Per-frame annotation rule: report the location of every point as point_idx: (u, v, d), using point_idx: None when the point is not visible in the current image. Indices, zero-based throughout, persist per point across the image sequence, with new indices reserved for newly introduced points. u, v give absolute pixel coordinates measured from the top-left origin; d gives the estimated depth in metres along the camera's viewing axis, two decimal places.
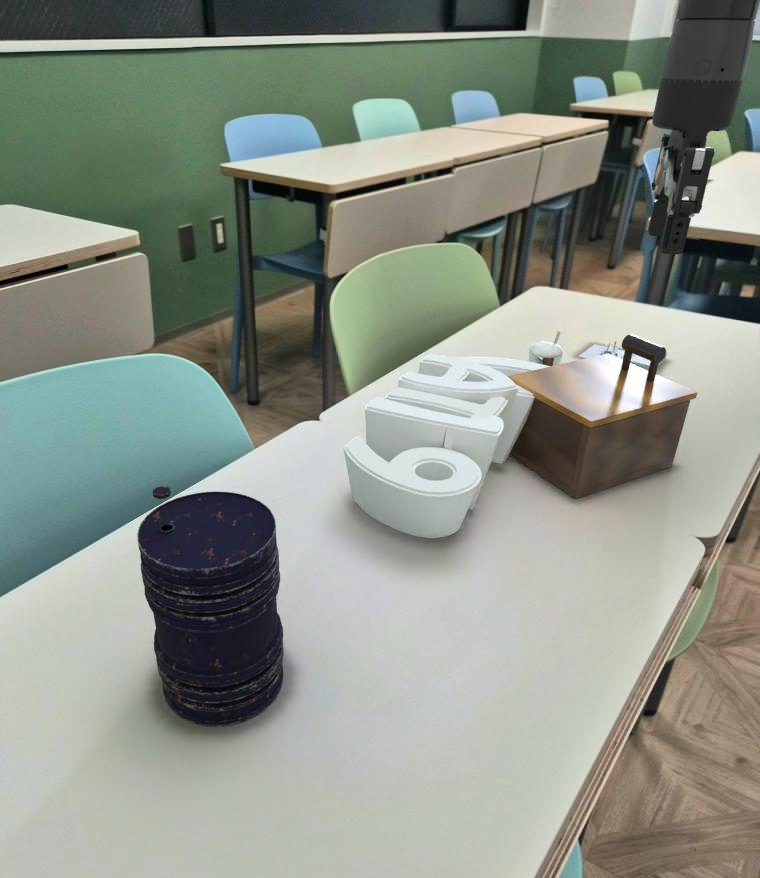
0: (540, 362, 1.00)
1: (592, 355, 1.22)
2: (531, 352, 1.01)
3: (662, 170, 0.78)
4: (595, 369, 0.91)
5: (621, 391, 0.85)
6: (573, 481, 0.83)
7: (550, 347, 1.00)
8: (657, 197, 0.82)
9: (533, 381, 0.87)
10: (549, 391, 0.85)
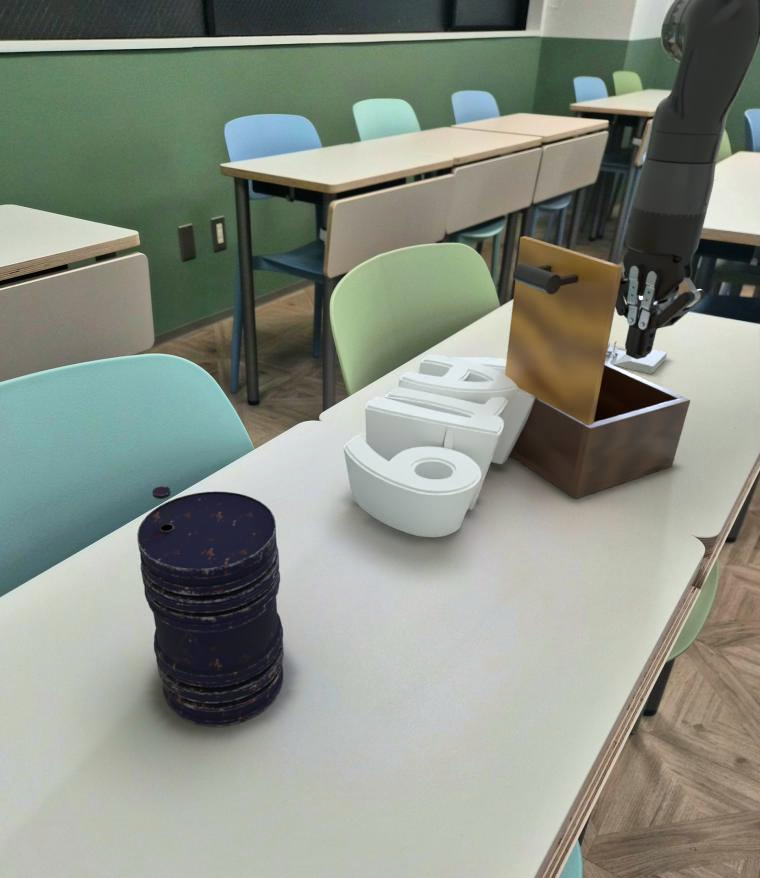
0: None
1: None
2: None
3: (639, 287, 0.83)
4: (534, 296, 0.80)
5: (572, 332, 0.77)
6: (573, 481, 0.83)
7: None
8: (635, 323, 0.86)
9: (520, 374, 0.86)
10: (538, 386, 0.84)
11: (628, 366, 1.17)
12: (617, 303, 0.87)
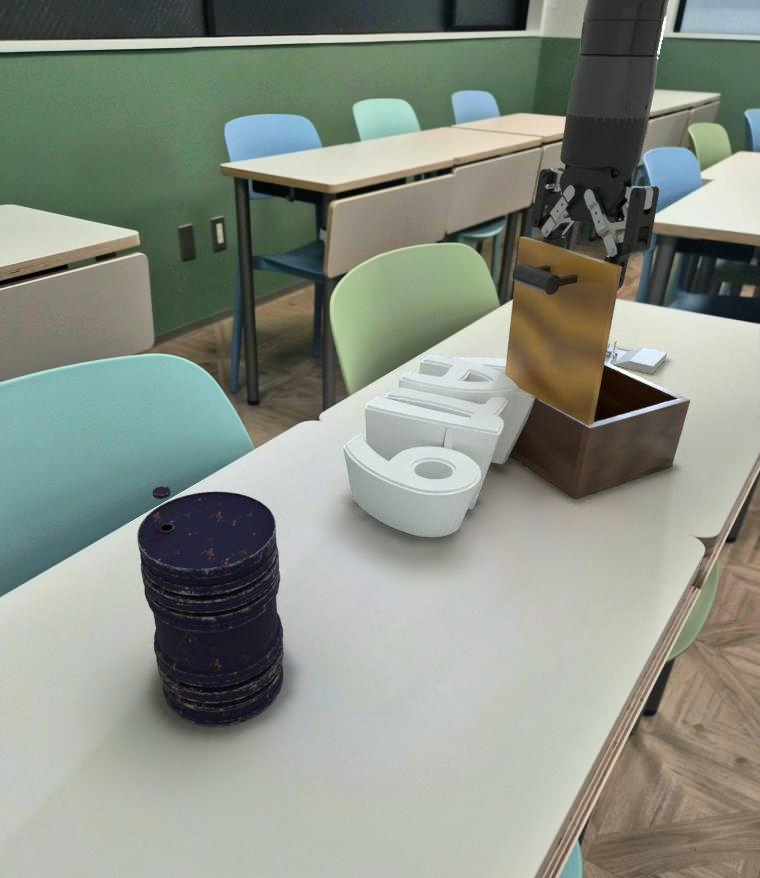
0: None
1: None
2: None
3: (566, 208, 0.75)
4: (533, 296, 0.80)
5: (571, 332, 0.77)
6: (573, 481, 0.83)
7: None
8: (550, 235, 0.78)
9: (520, 374, 0.86)
10: (538, 386, 0.84)
11: (628, 366, 1.17)
12: (535, 212, 0.79)
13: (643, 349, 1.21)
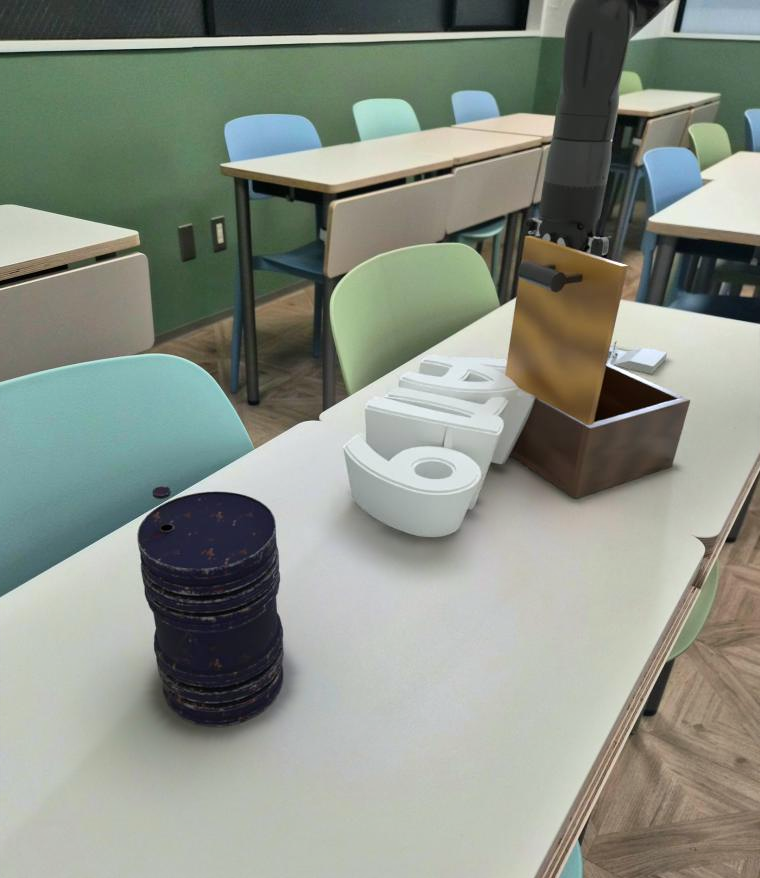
0: None
1: None
2: None
3: None
4: (537, 295, 0.80)
5: (574, 331, 0.77)
6: (573, 481, 0.83)
7: None
8: None
9: (521, 374, 0.86)
10: (538, 386, 0.84)
11: (628, 366, 1.17)
12: (520, 251, 1.00)
13: (643, 349, 1.21)
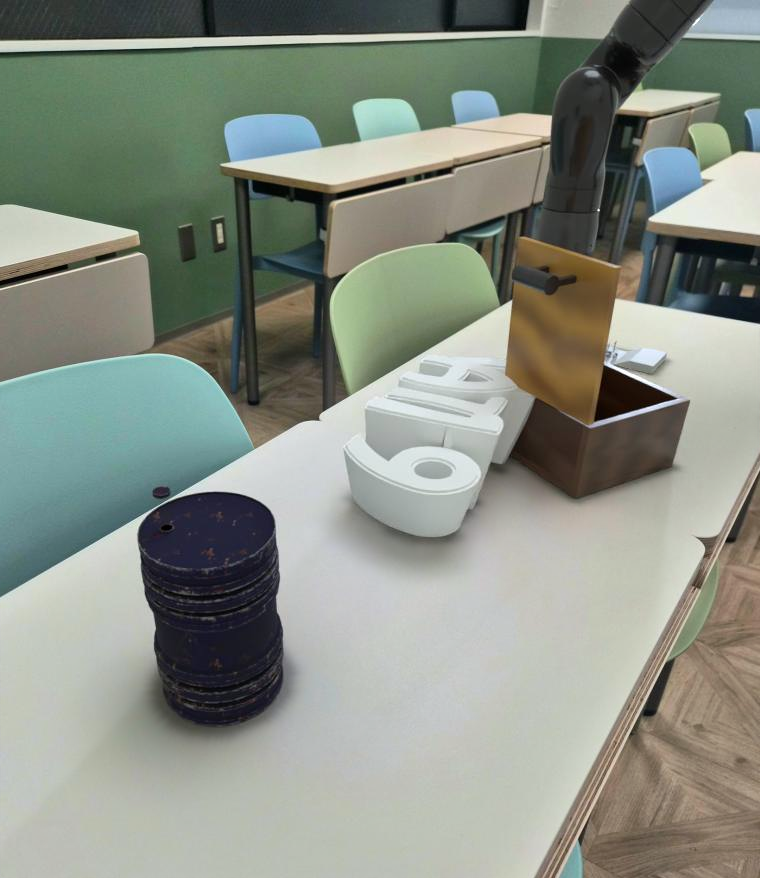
0: None
1: None
2: None
3: None
4: (533, 296, 0.80)
5: (571, 332, 0.77)
6: (573, 481, 0.83)
7: None
8: None
9: (520, 374, 0.86)
10: (538, 386, 0.84)
11: (628, 366, 1.17)
12: None
13: (643, 349, 1.21)
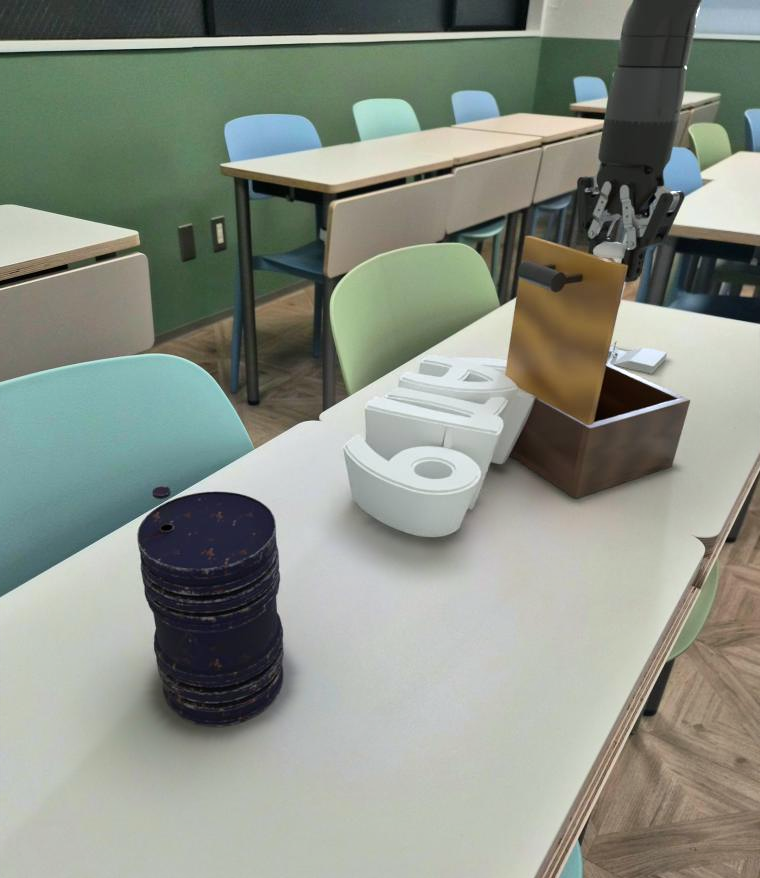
0: None
1: None
2: (596, 253, 0.85)
3: (607, 204, 0.83)
4: (537, 295, 0.80)
5: (574, 331, 0.77)
6: (573, 481, 0.83)
7: (620, 245, 0.84)
8: (596, 236, 0.86)
9: (521, 374, 0.86)
10: (538, 386, 0.84)
11: (628, 366, 1.17)
12: (580, 216, 0.87)
13: (643, 349, 1.21)
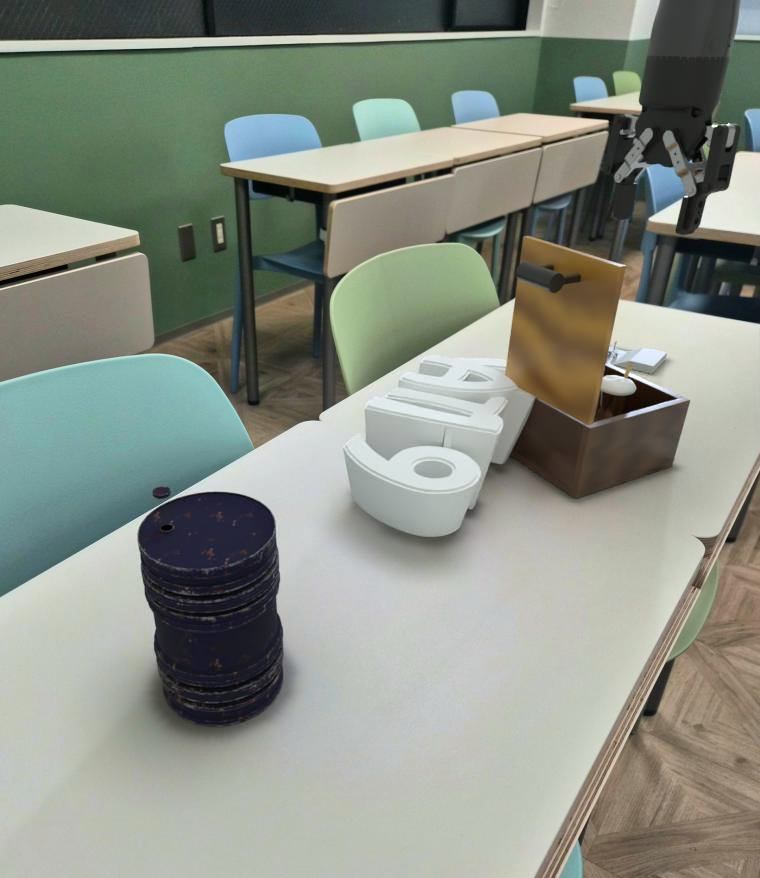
0: (610, 400, 0.87)
1: None
2: None
3: (643, 152, 0.76)
4: (536, 295, 0.80)
5: (573, 331, 0.77)
6: (573, 481, 0.83)
7: (622, 382, 0.87)
8: (623, 180, 0.80)
9: (521, 374, 0.86)
10: (538, 386, 0.84)
11: None
12: (608, 158, 0.80)
13: (643, 349, 1.21)
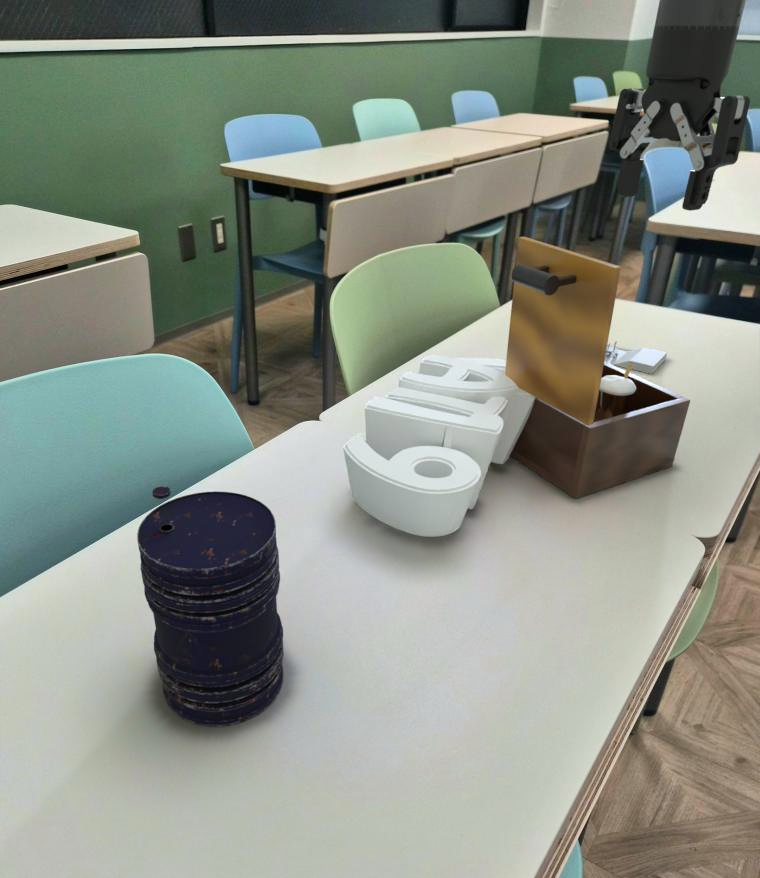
0: (610, 400, 0.87)
1: None
2: None
3: (649, 126, 0.75)
4: (533, 296, 0.80)
5: (571, 332, 0.77)
6: (573, 481, 0.83)
7: (622, 382, 0.87)
8: (629, 156, 0.78)
9: (520, 374, 0.86)
10: (538, 386, 0.84)
11: None
12: (614, 134, 0.79)
13: (643, 349, 1.21)
